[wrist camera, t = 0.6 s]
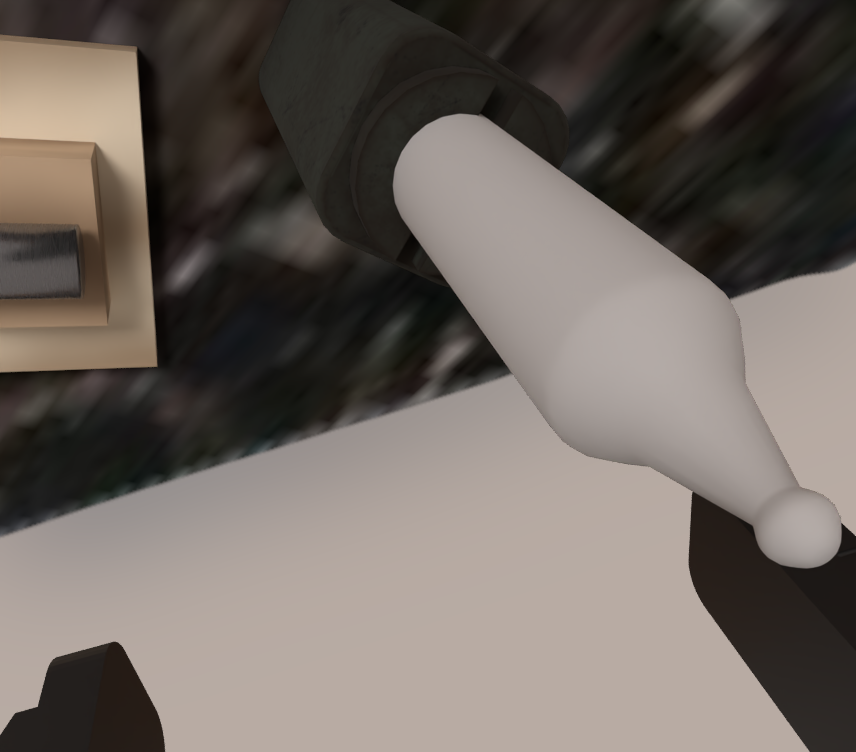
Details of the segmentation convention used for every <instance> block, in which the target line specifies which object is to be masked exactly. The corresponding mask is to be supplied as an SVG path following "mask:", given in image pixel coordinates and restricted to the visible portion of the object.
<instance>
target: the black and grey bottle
mask: <svg viewBox="0 0 856 752" xmlns="http://www.w3.org/2000/svg"><path fill="white" fill-rule="evenodd" d="M259 85H260V90H261V93H262V95H263V97H264V99H265V101H266V103H267V106H268V108H269V110H270V112H271V114H272V116H273V118H274V121H275V123H276V125H277V127H278V129H279V131H280V133H281V136H282V138H283V140H284V142H285V144H286V146H287V148H288V151H289V153H290V155H291V157H292V159H293V161H294V163H295V166H296V168H297V170H298V172H299V174H300V176H301V178H302V181H303V183H304V185H305V187H306V189H307V191H308V193H309V196H310V198H311V200H312V202H313V204H314V206H315V208H316V210H317V213H318V215H319V217H320V219H321V221H322V223H323V225H324V226H325V227H326V228H327V229H328V230H329V232H330V233H331V234H332V235H333V236H335V237H337V238H338V239H340V240H341V241H343V242H345V243H347V244H350V245H352V246H354V247H356V248H358V249H361V250H363V251H365V252H367V253H370V254H372V255H374V256H376V257H379V258H381V259H383V260H385V261H388V262H390V263H392V264H394V265H397V266H399V267H401V268H403V269H405V270H408V271H410V272H412V273H414V274H417V275H419V276H421V277H423V278H426V279H428V280H430V281H432V282H435V283H437V284H439V285H443V286H446V287H450V288H452V289H453V291H454V292H455V293H456V295H457V296H458V298H459V299H460V300H461V302H462V303H463V305H464V306H465V307H466V309H467V310H468V312H469V313H470V315H471V316H472V317H473V319H474V320H475V322H476V323H477V324H478V326H479V327H480V329H481V330H482V331H483V333H484V334H485V336H486V337H487V338H488V340H489V341H490V343H491V344H492V345H493V347H494V348H495V350H496V351H497V352H498V354H499V355H500V357H501V358H502V359H503V361H504V362H505V364H506V365H507V366H508V368H509V369H510V371H511V372H512V374H513V375H514V376H515V378H516V379H517V381H518V382H519V383H520V385H521V386H522V387H523V389H524V390H525V392H526V393H527V395H528V396H529V397H530V399H531V400H532V402H533V403H534V404H535V406H536V407H537V409H538V410H539V411H540V413H541V414H542V416H543V417H544V418H545V420H546V421H547V423H548V424H549V426H550V427H551V428H552V429H553V430H554V431H555V433H556V434H557V435H558V436H559V437H560V438H561V440H562V441H564V442H565V443H566V444H567V445H569V446H570V447H572V448H574V449H576V450H577V451H579V452H581V453H583V454H584V455H586V456H589V457H594V458H599V459H603V460H609V461H613V462H619V463H624V464H631V465H640V466H648V467H651V468H653V469H655V470H656V471H658V472H660V473H662V474H664V475H665V476H667V477H669V478H670V479H672V480H674V481H676V482H677V483H679V484H681V485H683V486H685V487H686V488H688V489H690V490H691V491H693V492H695V493H697V494H698V495H700V496H702V497H704V498H705V499H707V500H709V501H711V502H712V503H714V504H716V505H718V506H719V507H721V508H723V509H725V510H726V511H728V512H730V513H732V514H733V515H735V516H737V517H739V518H740V519H742V520H744V521H746V522H747V523H749V524H751V525H753V528H754V532H755V537H756V540H757V543H758V545H759V547H760V549H761V550H762V552H763V553H764V554H765V555H766V556H767V557H768V558H769V559H771V560H773V561H775V562H777V563H778V564H780V565H784V566H789V567H796V568H814V567H818V566H821V565H823V564H825V563H827V562H828V561H830V560H831V559H832V558H833V557H834V556H835V554H836V553H837V551H838V549H839V547H840V544H841V534H842V529H841V517H840V515H839V513H838V511H837V509H836V507H835V505H834V504H833V503H832V502H831V501H830V500H829V499H828V498H827V497H825V496H824V495H822V494H819V493H817V492H815V491H811V490H808V489H805V488H802V487H800V486H799V484H798V482H797V480H796V478H795V476H794V474H793V473H792V471H791V469H790V467H789V465H788V463H787V461H786V459H785V457H784V455H783V454H782V452H781V450H780V448H779V446H778V444H777V442H776V440H775V438H774V436H773V435H772V433H771V431H770V429H769V427H768V425H767V423H766V421H765V419H764V417H763V416H762V414H761V412H760V410H759V408H758V406H757V404H756V402H755V400H754V398H753V397H752V395H751V393H750V391H749V389H748V387H747V385H746V383H745V357H744V349H743V341H742V334H741V326H740V319H739V317H738V315H737V313H736V311H735V309H734V307H733V305H732V304H731V301H730V300H729V299H728V297H727V296H726V294H725V293H724V292H723V291H722V290H720V289H719V288H718V287H717V286H716V285H715V284H714V283H712V282H711V281H710V280H709V279H708V278H706V277H705V276H703V275H702V274H701V273H699V272H698V271H697V270H695V269H694V268H692V267H691V266H690V265H688V264H687V263H686V262H684V261H683V260H681V259H680V258H679V257H677V256H676V255H675V254H673V253H672V252H670V251H669V250H668V249H666V248H665V247H664V246H662V245H661V244H659V243H658V242H657V241H655V240H654V239H653V238H651V237H650V236H648V235H647V234H646V233H644V232H643V231H642V230H640V229H639V228H637V227H636V226H635V225H633V224H632V223H630V222H629V221H628V220H626V219H625V218H624V217H622V216H621V215H619V214H618V213H617V212H615V211H614V210H613V209H611V208H610V207H608V206H607V205H606V204H604V203H603V202H602V201H600V200H599V199H597V198H596V197H595V196H593V195H592V194H591V193H589V192H588V191H586V190H585V189H584V188H582V187H581V186H580V185H578V184H577V183H575V182H574V181H573V180H571V179H570V178H569V177H567V176H566V175H564V174H563V173H562V172H560V171H559V168H560V166H561V164H562V162H563V160H564V158H565V156H566V153H567V149H568V145H569V126H568V122H567V118H566V116H565V114H564V112H563V110H562V109H561V107H560V105H559V104H558V103H557V102H555V101H554V100H553V99H552V98H551V97H550V96H548V95H547V94H545V93H544V92H542V91H541V90H539V89H538V88H536V87H535V86H533V85H532V84H530V83H529V82H527V81H525V80H524V79H522V78H521V77H519V76H518V75H516V74H515V73H513V72H512V71H510V70H509V69H507V68H506V67H504V66H503V65H501V64H500V63H498V62H497V61H495V60H493V59H492V58H490V57H489V56H487V55H486V54H484V53H483V52H481V51H480V50H478V49H477V48H475V47H474V46H472V45H471V44H469V43H468V42H466V41H465V40H463V39H462V38H460V37H458V36H457V35H455V34H454V33H452V32H450V31H448V30H446V29H444V28H442V27H440V26H438V25H436V24H434V23H432V22H430V21H428V20H426V19H425V18H423V17H421V16H419V15H417V14H415V13H413V12H411V11H409V10H407V9H405V8H403V7H401V6H399V5H397V4H396V3H394V2H392V1H390V0H291V1H290V3H289V5H288V7H287V9H286V12H285V14H284V16H283V18H282V21H281V23H280V25H279V27H278V29H277V32H276V34H275V36H274V38H273V40H272V43H271V45H270V47H269V49H268V52H267V54H266V56H265V58H264V60H263V63H262V65H261V68H260V72H259Z"/></svg>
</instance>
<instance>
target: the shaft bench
mask: <svg viewBox="0 0 856 752" xmlns="http://www.w3.org/2000/svg"><path fill="white" fill-rule="evenodd" d="M0 223H38V224H78V225H79V226H80V229H81V233H82V239H83V246H84V256H85V295H84V298H83V299H25V300H0V372H20V371H48V370H76V369H104V368H131V367H157V343H156V328H155V313H154V298H153V282H152V267H151V252H150V237H149V222H148V206H147V191H146V176H145V161H144V145H143V130H142V115H141V100H140V85H139V69H138V54H137V47H135V46H123V45H112V44H100V43H89V42H77V41H66V40H55V39H43V38H32V37H20V36H9V35H0Z"/></svg>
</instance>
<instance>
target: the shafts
mask: <svg viewBox="0 0 856 752" xmlns="http://www.w3.org/2000/svg"><path fill="white" fill-rule="evenodd" d="M84 295H85V256H84V246H83V239H82V233H81V229H80V226H79V225H78V224H38V223H0V300H25V299H83V298H84Z"/></svg>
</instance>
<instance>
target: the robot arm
mask: <svg viewBox="0 0 856 752" xmlns="http://www.w3.org/2000/svg"><path fill="white" fill-rule="evenodd" d="M841 529H842V534H841V544H840V547H839V549H838V551H837V553H836V554H835V556H834V557H833V558H832V559H831V560H830V561H828V562H827V563H825V564H823V565H821V566H818V567H814V568H796V567H789V566H784V565H780V564H778V563H777V562H775V561H773V560H771V559H769V558H768V557H767V556H766V555H765V554H764V553H763V552H762V550H761V549H760V547H759V545H758V543H757V540H756V537H755V532H754V528H753V525H751V524H749V523H747V522H746V521H744V520H742V519H740V518H739V517H737V516H735V515H733V514H732V513H730V512H728V511H726V510H725V509H723V508H721V507H719V506H718V505H716V504H714V503H712V502H711V501H709V500H707V499H705V498H704V497H702V496H700V495H698V494H697V493H695V492H693V493H692V506H691V525H690V545H689V569H690V575H691V578H692V582H693V585H694V587H695V589H696V592H697V594H698V596H699V598H700V600H701V602H702V603H703V605H704V606H705V608H706V609H707V611H708V612H709V613H710V615H711V616H712V617H713V619H714V620H715V622H716V623H717V624H718V626H719V627H720V629H721V630H722V631H723V633H724V634H725V635H726V637H727V638H728V640H729V641H730V642H731V644H732V645H733V646H734V648H735V649H736V650H737V652H738V653H739V655H740V656H741V657H742V659H743V660H744V662H745V663H746V664H747V666H748V667H749V668H750V670H751V671H752V673H753V674H754V675H755V677H756V678H757V679H758V681H759V682H760V684H761V685H762V686H763V688H764V689H765V690H766V692H767V693H768V695H769V696H770V697H771V699H772V700H773V702H774V703H775V704H776V706H777V707H778V709H779V710H780V711H781V713H782V714H783V715H784V717H785V718H786V720H787V721H788V722H789V723H790V725H791V726H792V728H793V729H794V731H795V732H796V733H797V735H798V736H799V737H800V739H801V740H802V742H803V743H804V744H805V746H806V747H807V748H808V750H809V751H810V752H856V536H855V535H854V534H853V533H852V532H851V531H849V530H848V529H847V528H846V527H845V526H844V525H843V524H842V523H841ZM0 752H165V744H164V736H163V730H162V726H161V722H160V719H159V716H158V713H157V711H156V709H155V707H154V705H153V703H152V701H151V699H150V697H149V696H148V694H147V692H146V690H145V688H144V686H143V684H142V682H141V681H140V679H139V677H138V675H137V673H136V671H135V669H134V667H133V665H132V664H131V662H130V660H129V658H128V656H127V654H126V652H125V650H124V649H123V647H122V646H121V645H120V644H119V643H118V642H111V643H108V644H104V645H100V646H97V647H93V648H89V649H86V650H82V651H78V652H75V653H71V654H68V655H64V656H60V657H56V658H55V659H53V660H52V662H51V663H50V665H49V667H48V670H47V673H46V677H45V681H44V685H43V688H42V693H41V696H40V700H39V704H38V707H36V708H32V709H29V710H25V711H21V712H18V713H15V714H14V716H13V717H12V719H11V720H10V722H9V723H8V725H7V726H6V728H5V729H4V730H3V732H2V734H1V735H0Z"/></svg>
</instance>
